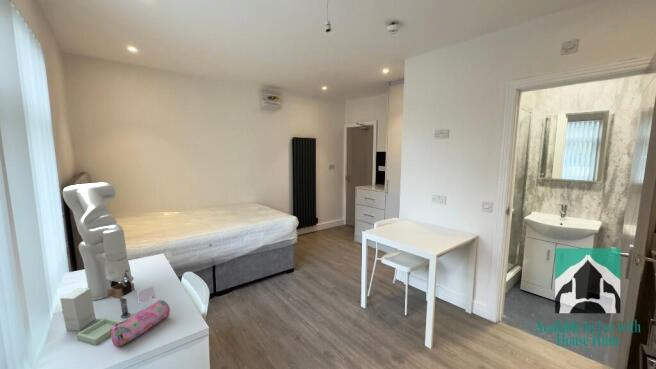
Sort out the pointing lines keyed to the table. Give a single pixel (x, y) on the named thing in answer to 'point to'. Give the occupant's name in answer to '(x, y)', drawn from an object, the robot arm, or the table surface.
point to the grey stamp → (124, 308)
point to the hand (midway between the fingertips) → (121, 291)
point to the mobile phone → (146, 295)
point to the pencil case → (139, 323)
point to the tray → (97, 331)
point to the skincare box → (78, 309)
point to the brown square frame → (118, 290)
